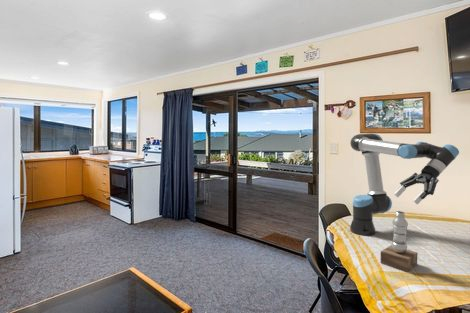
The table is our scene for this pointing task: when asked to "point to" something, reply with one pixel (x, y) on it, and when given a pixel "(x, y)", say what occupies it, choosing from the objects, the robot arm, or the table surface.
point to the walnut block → (399, 259)
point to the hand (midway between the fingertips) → (405, 199)
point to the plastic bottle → (399, 233)
